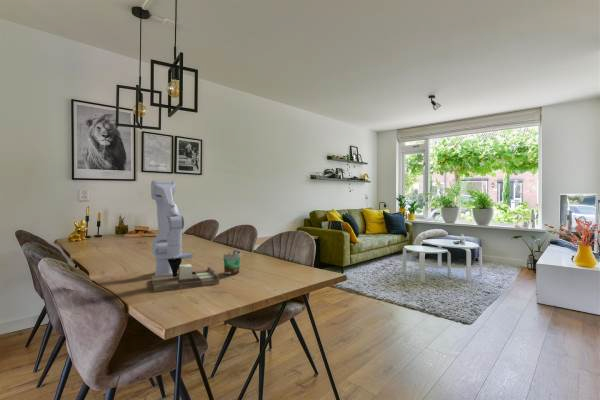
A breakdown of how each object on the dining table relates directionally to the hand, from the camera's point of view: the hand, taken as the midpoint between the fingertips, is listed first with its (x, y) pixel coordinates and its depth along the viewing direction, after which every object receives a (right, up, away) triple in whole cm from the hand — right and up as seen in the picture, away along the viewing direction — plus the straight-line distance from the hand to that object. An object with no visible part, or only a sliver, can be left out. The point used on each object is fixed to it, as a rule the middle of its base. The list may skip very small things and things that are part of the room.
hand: (174, 276), depth 133 cm
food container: (+22, -3, +18) cm, 28 cm away
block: (+4, -1, +2) cm, 4 cm away
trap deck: (+4, -3, +2) cm, 5 cm away
